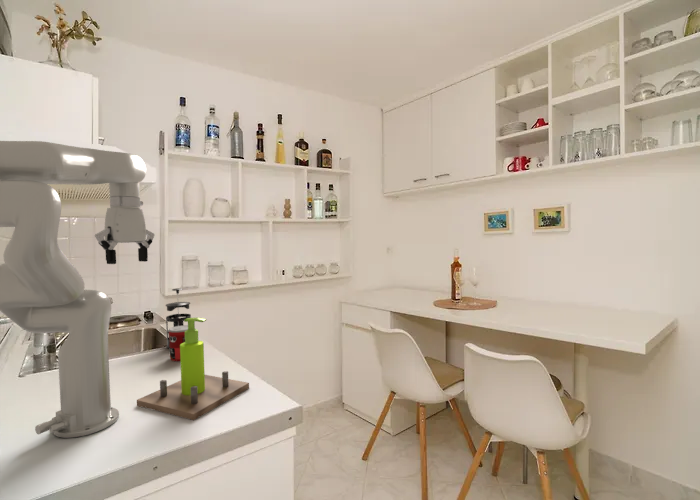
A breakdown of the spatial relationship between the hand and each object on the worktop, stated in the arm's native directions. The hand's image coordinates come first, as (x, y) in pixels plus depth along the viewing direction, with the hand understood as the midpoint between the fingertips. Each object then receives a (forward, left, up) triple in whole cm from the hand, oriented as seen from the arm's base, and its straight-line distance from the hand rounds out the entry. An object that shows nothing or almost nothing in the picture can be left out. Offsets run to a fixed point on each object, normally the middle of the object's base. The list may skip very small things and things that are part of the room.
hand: (127, 262), depth 109 cm
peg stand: (+1, -24, -36) cm, 44 cm away
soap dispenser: (+1, -24, -35) cm, 42 cm away
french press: (+34, +20, -36) cm, 54 cm away
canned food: (+23, +6, -36) cm, 44 cm away
